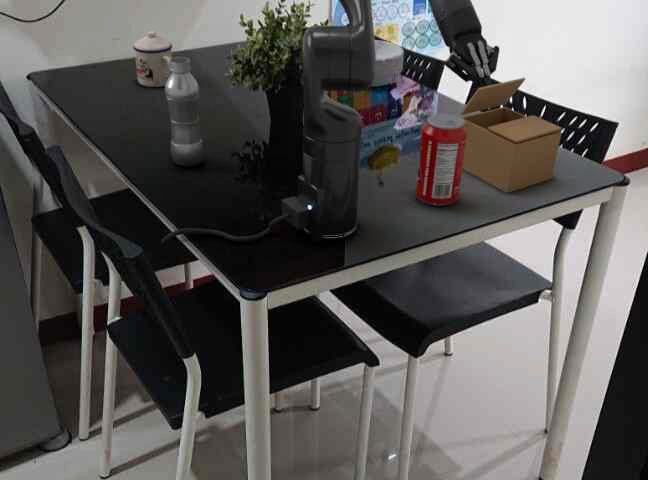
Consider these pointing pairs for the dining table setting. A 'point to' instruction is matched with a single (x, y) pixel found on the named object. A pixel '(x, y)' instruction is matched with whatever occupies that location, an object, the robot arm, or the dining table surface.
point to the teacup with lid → (153, 60)
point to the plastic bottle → (184, 113)
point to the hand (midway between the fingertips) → (489, 97)
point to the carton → (510, 148)
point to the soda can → (441, 159)
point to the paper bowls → (387, 62)
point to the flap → (492, 96)
